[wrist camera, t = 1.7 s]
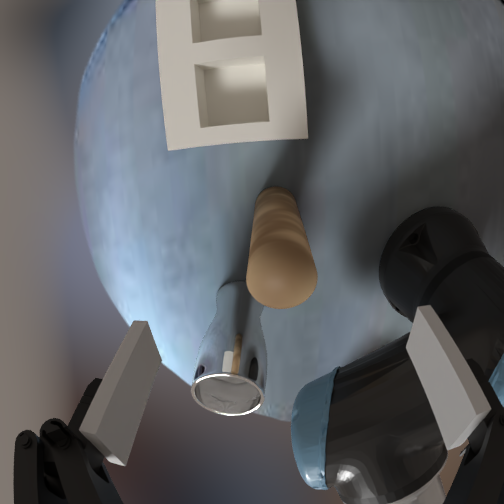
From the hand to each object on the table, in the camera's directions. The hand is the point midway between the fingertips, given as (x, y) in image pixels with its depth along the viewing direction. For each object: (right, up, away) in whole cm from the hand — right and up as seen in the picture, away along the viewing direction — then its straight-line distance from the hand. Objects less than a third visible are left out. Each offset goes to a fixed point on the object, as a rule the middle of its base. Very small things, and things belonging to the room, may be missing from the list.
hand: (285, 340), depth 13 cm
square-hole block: (-3, +23, +12) cm, 26 cm away
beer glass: (-3, -2, +24) cm, 24 cm away
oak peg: (+1, +9, +18) cm, 20 cm away
